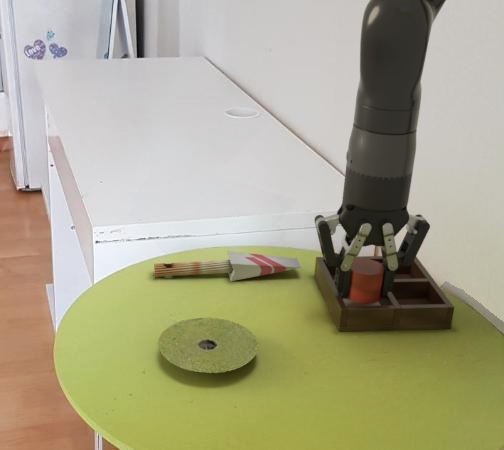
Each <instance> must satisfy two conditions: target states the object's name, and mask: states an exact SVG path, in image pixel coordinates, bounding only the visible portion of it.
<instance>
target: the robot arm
mask: <svg viewBox="0 0 504 450" xmlns="http://www.w3.org/2000/svg"><path fill="white" fill-rule="evenodd" d="M446 1H447V0H369V1H368V2H367V4H366V7H365V8H364V11H363V15H362V20H361V21H362V22H361V29H360V43H359V82H358V85H357V90H356V97H355V106H354V115H353V123H352V128H351V132H350V135H349V141H348V146H347V151H346V155H345V156H346V157H345V159H346V163H345V173H344V174H345V175H344V181H343V182H344V183H343V191H342V201H341V205H340V207H339V208H338V210H337V211H336V214H332V215H329V216H324V215H322V214H317V215H316V216H315V217H314V225H315V229H316V234H317V238H318V242H319V247H320V250H321V255H322V257H324V259H325V261H326V263H327V265H328V266H330V267H333V266H334V267H336V273H335V282H334V284H335V287H336V289H337V291H338V293H340V294H341V296H342V297H348V294H349V286H350V278H351V270H350V268H351V266H352V263H353V261H354V259H355V257H357V256H359V255H360V252H361V250H362V248H363V247H369V246H374V247H375V246H376V247H379V248H380V252H381V256H382V258H383V263H380V264H382V265H383V267H384V275H383V282H382V289H381V296H387V295H388V292H391V291H392V289H393V284H394V277H395V271H396V269H397V268H398V267H399V266H402V265H406V266H410V265H411V264H412V263H413V261H414V259H415V257H417V255H418V253H419V251H420V249H421V247H422V245H423V243H424V241H425V239H426V237H427V235H428V233H429V230H430V228H431V224H430V223H429V222H428V221H427V218H425V217H424V216H423V215H422V214H419V213H418V214H415V215H414V214H411V213H409V211H408V203H409V199H410V193H411V187H412V186H411V185H412V179H413V171H414V166H415V159H416V152H417V129H418V124H419V116H420V111H421V103H422V90H423V89H422V88H423V87H422V82H421V81H422V77H423V72H424V67H425V63H426V58H427V52H428V48H429V47H428V46H429V42H430V37H431V31H432V26H433V24H434V21H435V20H436V19H437V17H438V15H439V13H440V11H441V9H442V8H443V6H444V4H445V3H446ZM338 225H340V226H341V227H342V229H343V230H344V234H343V236H342V238H341V239H342V240H341V246H340V248H339V250H338V252H335V248H334V242H333V238H332V236H333V235H335V233H336V231H337V226H338ZM404 227H405V230H406V233H405V235H404V237H403V239H402V242H401V244H400V245H399V247H398V249H397V246H396V239H395V237H396V236H397V235H398V234H399V233H400V231H402V230H403V228H404Z"/></svg>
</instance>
